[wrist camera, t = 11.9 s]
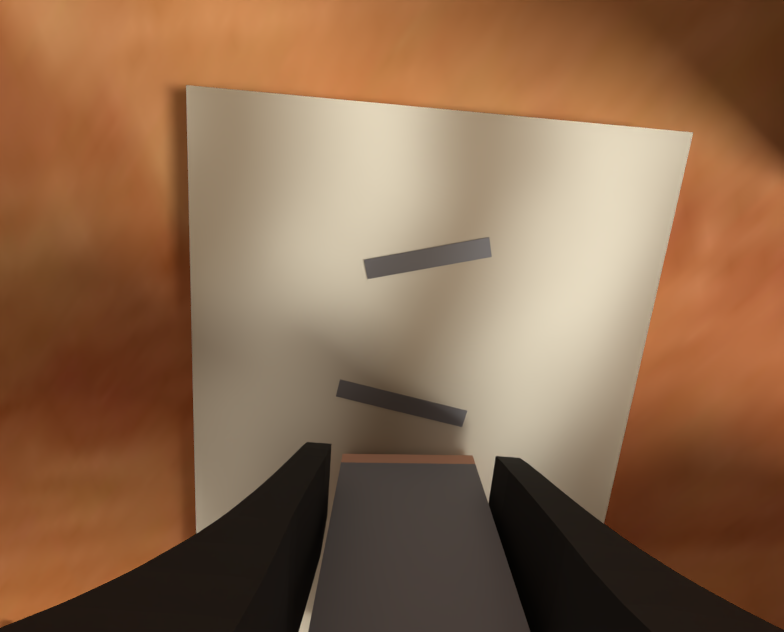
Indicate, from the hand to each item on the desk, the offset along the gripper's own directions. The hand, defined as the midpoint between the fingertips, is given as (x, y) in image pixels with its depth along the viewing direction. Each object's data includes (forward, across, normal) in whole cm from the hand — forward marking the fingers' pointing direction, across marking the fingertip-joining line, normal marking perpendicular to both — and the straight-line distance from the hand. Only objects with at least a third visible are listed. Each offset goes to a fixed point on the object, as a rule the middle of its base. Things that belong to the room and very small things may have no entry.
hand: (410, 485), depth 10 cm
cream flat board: (+3, 0, 0) cm, 3 cm away
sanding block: (+1, 0, +3) cm, 3 cm away
